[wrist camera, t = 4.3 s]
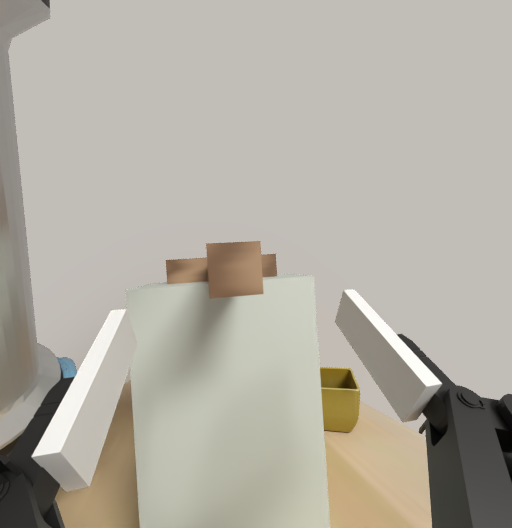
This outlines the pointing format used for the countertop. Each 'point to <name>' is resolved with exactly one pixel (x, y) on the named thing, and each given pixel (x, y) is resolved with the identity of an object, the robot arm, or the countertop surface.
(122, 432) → the countertop surface
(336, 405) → the flower pot
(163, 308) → the stand
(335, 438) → the countertop surface
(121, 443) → the countertop surface
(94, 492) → the countertop surface
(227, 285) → the T-bar
